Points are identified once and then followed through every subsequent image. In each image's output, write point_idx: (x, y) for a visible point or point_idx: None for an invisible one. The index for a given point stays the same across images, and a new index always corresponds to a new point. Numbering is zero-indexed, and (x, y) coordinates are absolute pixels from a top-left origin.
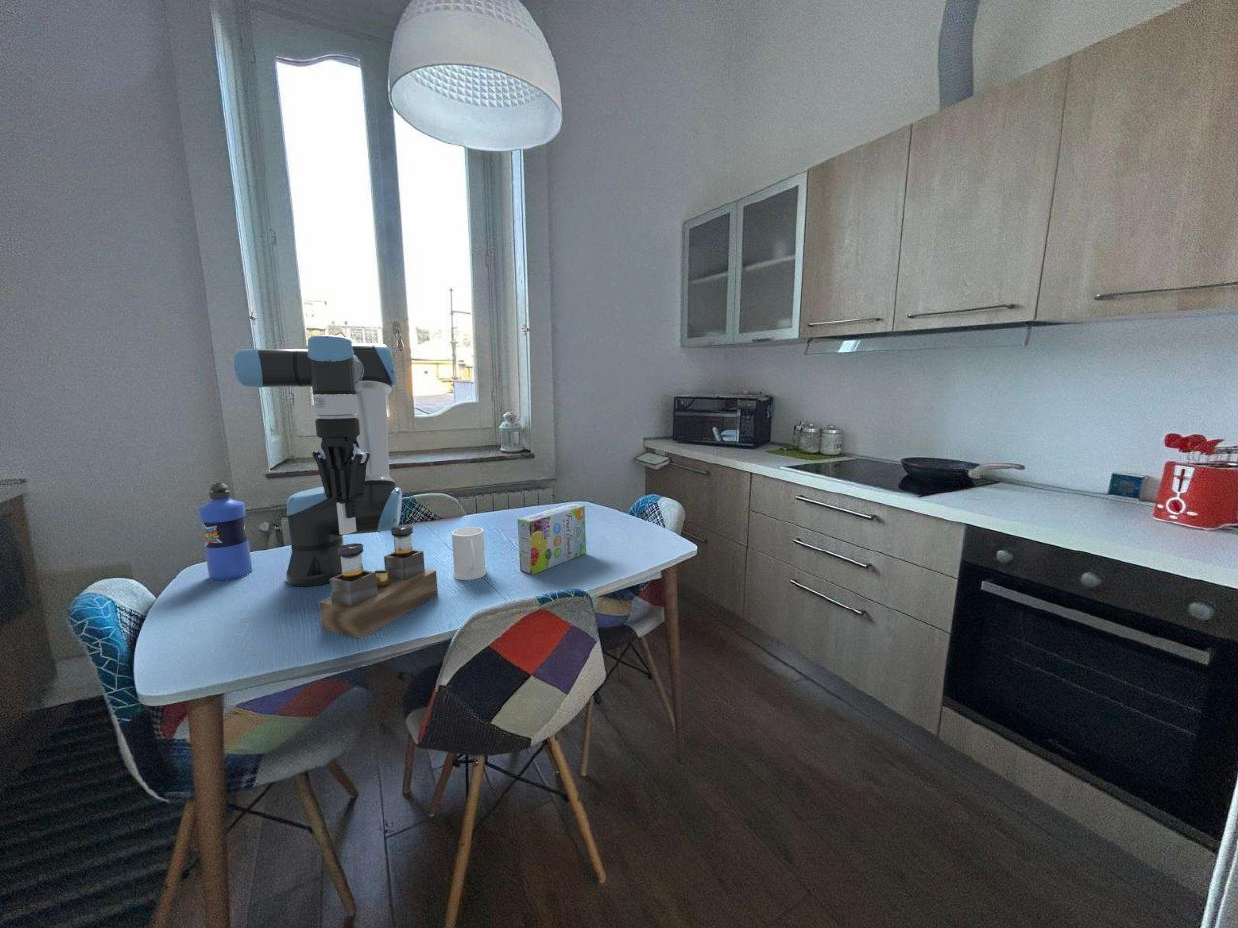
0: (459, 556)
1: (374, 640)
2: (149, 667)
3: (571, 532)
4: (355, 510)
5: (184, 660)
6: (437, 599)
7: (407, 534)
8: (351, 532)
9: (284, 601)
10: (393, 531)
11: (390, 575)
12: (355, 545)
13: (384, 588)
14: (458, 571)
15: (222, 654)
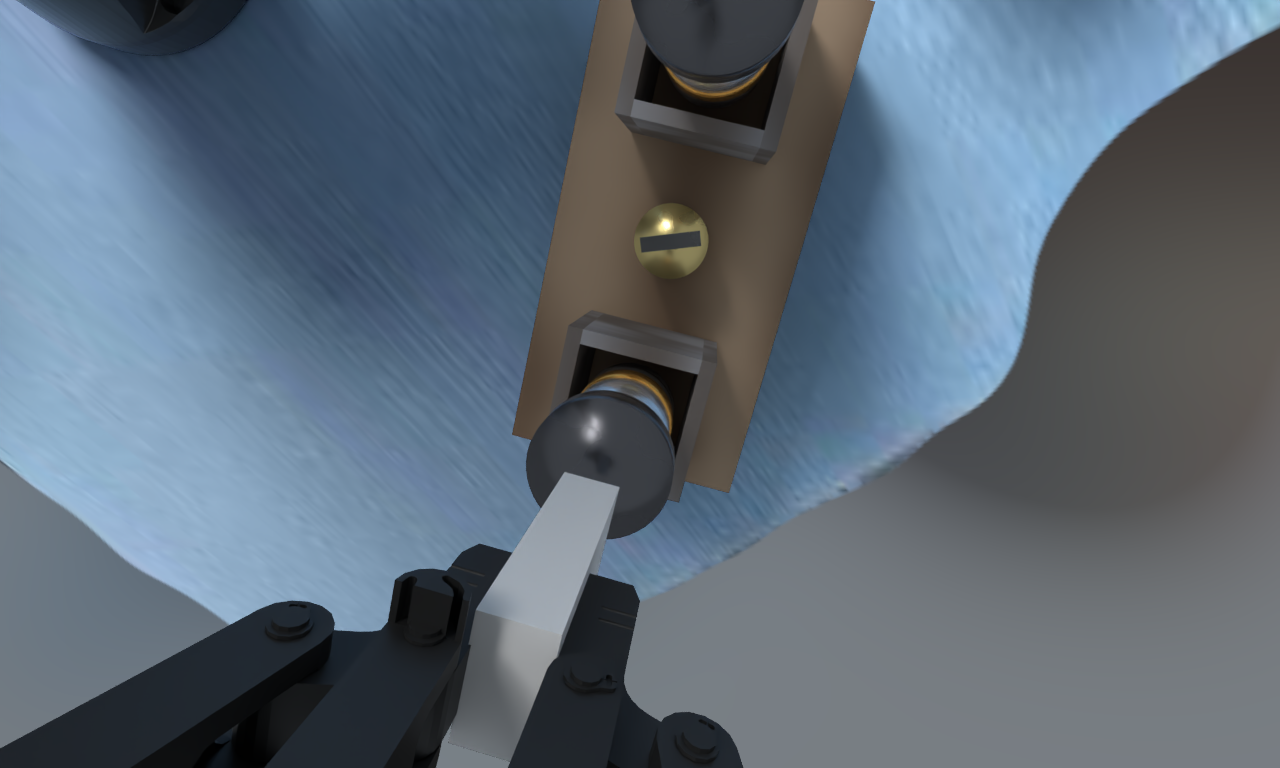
0: None
1: (778, 458)
2: None
3: None
4: (633, 629)
5: (296, 593)
6: (868, 100)
7: (788, 37)
8: (608, 529)
9: (227, 206)
10: (685, 71)
11: (663, 138)
12: (612, 440)
13: (709, 275)
14: None
15: (367, 561)
